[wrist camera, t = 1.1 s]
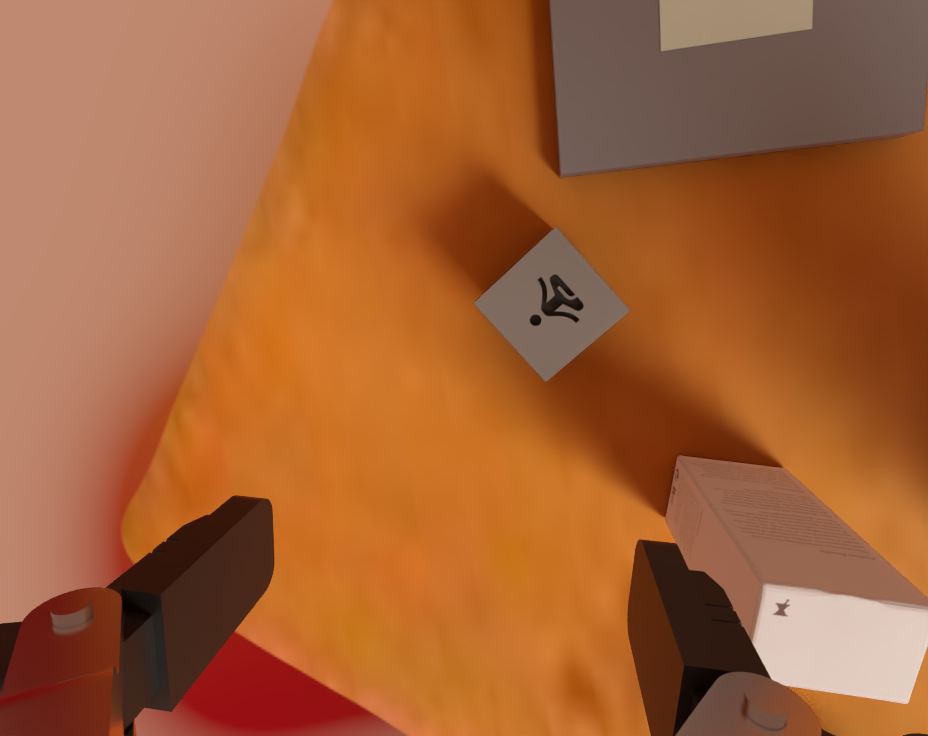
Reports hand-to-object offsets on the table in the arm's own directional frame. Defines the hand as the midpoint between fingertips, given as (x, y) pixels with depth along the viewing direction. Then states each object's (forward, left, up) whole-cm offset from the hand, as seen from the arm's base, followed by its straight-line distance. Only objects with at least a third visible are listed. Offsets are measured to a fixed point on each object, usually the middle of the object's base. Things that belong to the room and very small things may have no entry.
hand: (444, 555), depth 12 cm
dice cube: (-3, -3, -20) cm, 20 cm away
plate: (-12, -17, -20) cm, 29 cm away
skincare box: (-12, +9, -20) cm, 25 cm away
